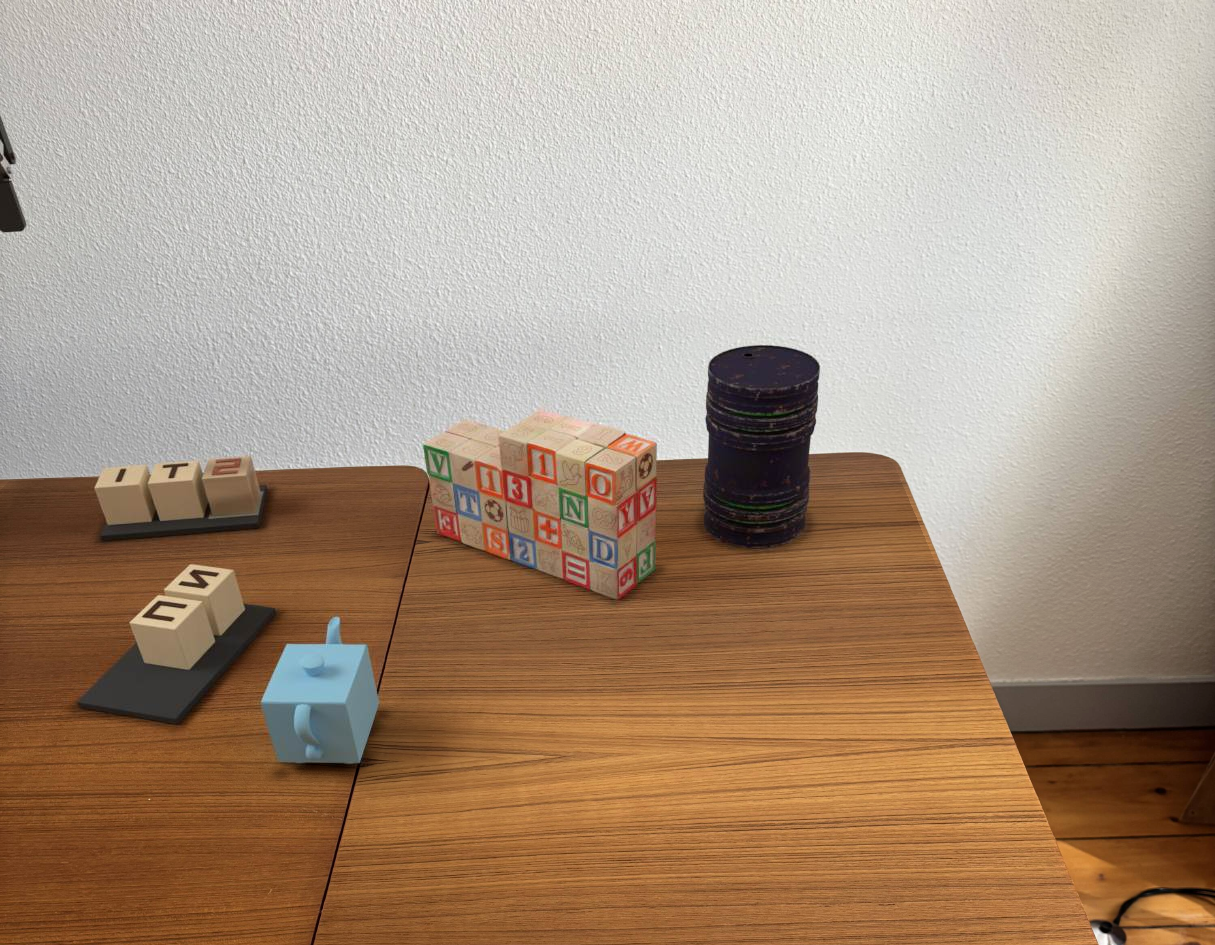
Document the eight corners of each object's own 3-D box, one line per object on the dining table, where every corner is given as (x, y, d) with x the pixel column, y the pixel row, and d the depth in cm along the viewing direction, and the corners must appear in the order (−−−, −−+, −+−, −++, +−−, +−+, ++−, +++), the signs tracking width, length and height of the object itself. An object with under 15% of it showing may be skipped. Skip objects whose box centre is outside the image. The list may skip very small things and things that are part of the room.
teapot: (315, 685, 91) (294, 606, 86) (389, 686, 91) (373, 606, 86) (275, 785, 82) (250, 703, 77) (357, 786, 82) (337, 703, 77)
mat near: (78, 707, 90) (57, 659, 87) (186, 600, 101) (171, 553, 98) (177, 725, 88) (159, 675, 85) (276, 613, 99) (264, 566, 96)
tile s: (256, 513, 111) (245, 474, 109) (212, 516, 111) (201, 477, 108) (260, 492, 114) (250, 454, 112) (218, 496, 114) (207, 458, 111)
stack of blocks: (434, 535, 108) (416, 410, 100) (476, 508, 112) (462, 385, 104) (619, 601, 99) (615, 469, 91) (658, 569, 103) (658, 439, 94)
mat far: (101, 541, 109) (84, 496, 106) (118, 501, 115) (103, 458, 112) (258, 528, 110) (246, 483, 107) (267, 489, 116) (256, 446, 113)
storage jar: (825, 534, 106) (843, 376, 96) (732, 558, 104) (739, 398, 93) (774, 489, 113) (785, 337, 103) (685, 510, 110) (687, 356, 100)
